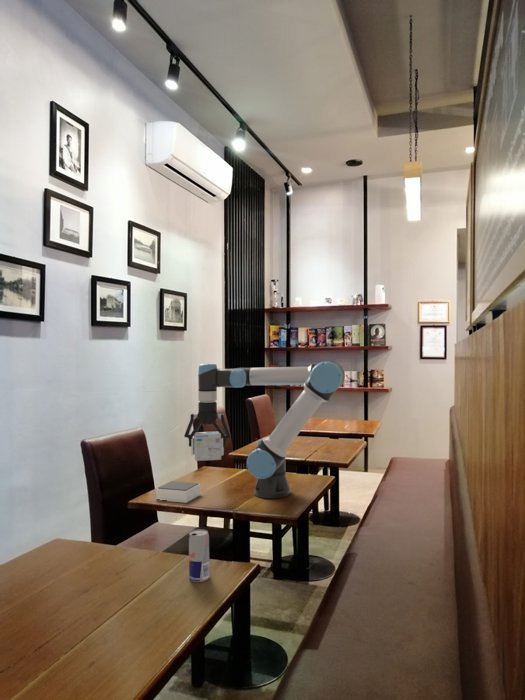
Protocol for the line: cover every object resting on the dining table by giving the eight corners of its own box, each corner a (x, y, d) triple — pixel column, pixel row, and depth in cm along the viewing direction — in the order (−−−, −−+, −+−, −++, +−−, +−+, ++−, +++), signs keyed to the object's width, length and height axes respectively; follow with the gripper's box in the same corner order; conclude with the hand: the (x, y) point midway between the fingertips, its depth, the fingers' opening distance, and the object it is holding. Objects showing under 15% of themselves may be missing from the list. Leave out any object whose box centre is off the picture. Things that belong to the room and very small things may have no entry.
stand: (200, 494, 213) (200, 483, 213) (186, 502, 202) (186, 490, 202) (171, 492, 218) (171, 480, 218) (156, 499, 207) (156, 487, 207)
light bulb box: (219, 456, 209) (219, 430, 210) (221, 460, 203) (221, 433, 203) (193, 457, 207) (193, 431, 207) (195, 461, 201) (195, 434, 201)
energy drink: (187, 576, 134) (186, 531, 134) (206, 572, 136) (205, 528, 136) (192, 584, 129) (191, 537, 129) (212, 580, 131) (211, 534, 131)
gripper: (237, 400, 208) (237, 453, 208) (180, 400, 210) (180, 452, 209) (235, 402, 201) (235, 456, 201) (176, 402, 202) (176, 456, 202)
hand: (207, 454), depth 205 cm, fingers closed on light bulb box, 11 cm apart
